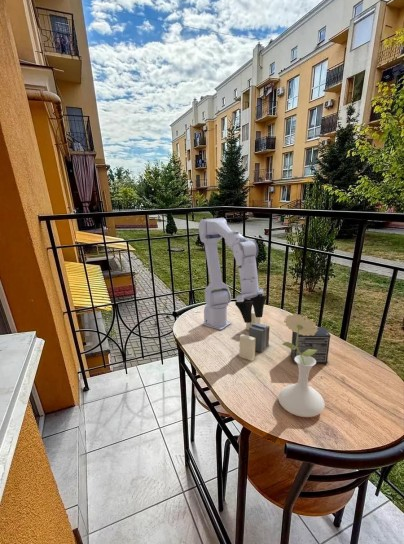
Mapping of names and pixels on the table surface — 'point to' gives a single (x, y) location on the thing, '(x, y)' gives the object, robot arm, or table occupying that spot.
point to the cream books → (253, 320)
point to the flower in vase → (301, 374)
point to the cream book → (247, 347)
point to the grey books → (260, 336)
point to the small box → (313, 345)
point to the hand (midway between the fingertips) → (253, 319)
